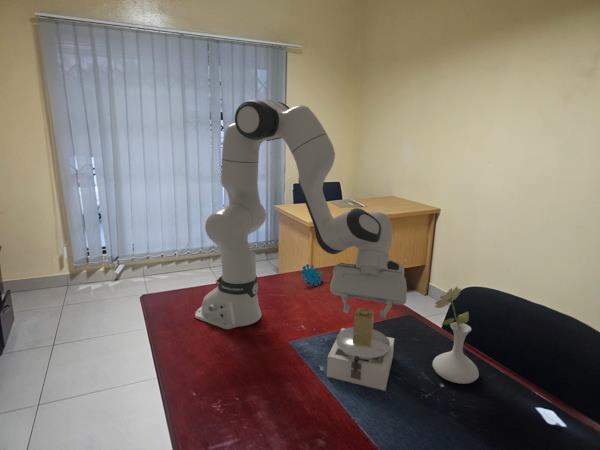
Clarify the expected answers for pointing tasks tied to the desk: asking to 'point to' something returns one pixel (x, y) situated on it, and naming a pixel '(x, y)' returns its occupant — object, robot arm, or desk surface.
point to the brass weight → (363, 326)
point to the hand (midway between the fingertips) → (364, 314)
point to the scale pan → (362, 346)
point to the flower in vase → (455, 347)
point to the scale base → (360, 368)
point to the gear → (311, 275)
